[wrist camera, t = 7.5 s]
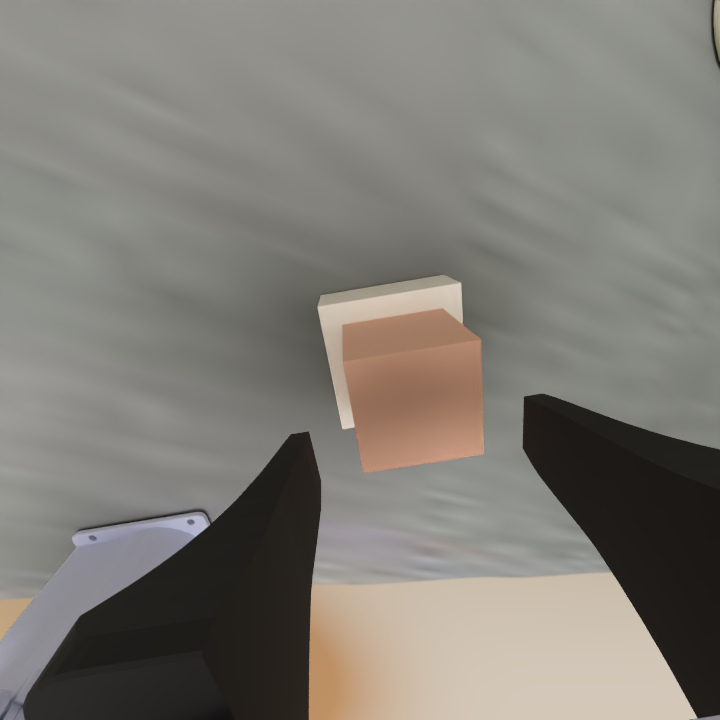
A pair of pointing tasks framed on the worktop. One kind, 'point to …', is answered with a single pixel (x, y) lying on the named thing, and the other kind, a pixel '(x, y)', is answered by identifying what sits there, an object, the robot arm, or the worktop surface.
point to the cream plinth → (376, 306)
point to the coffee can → (717, 26)
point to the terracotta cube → (414, 389)
